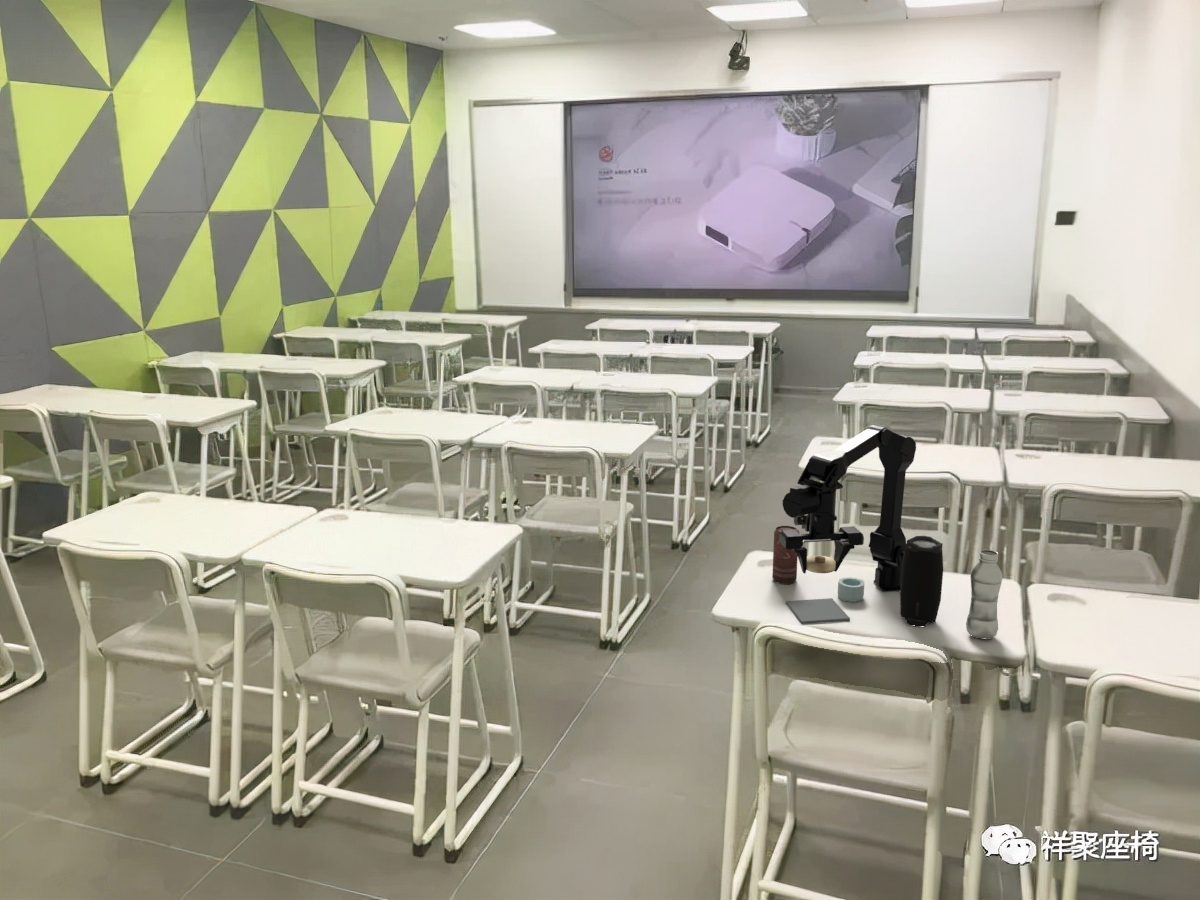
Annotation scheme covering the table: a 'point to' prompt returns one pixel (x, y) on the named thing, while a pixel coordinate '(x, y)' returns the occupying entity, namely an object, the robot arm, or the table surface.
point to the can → (784, 560)
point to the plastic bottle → (984, 596)
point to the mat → (817, 611)
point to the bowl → (850, 589)
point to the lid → (820, 564)
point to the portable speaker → (921, 580)
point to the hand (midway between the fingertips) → (819, 571)
